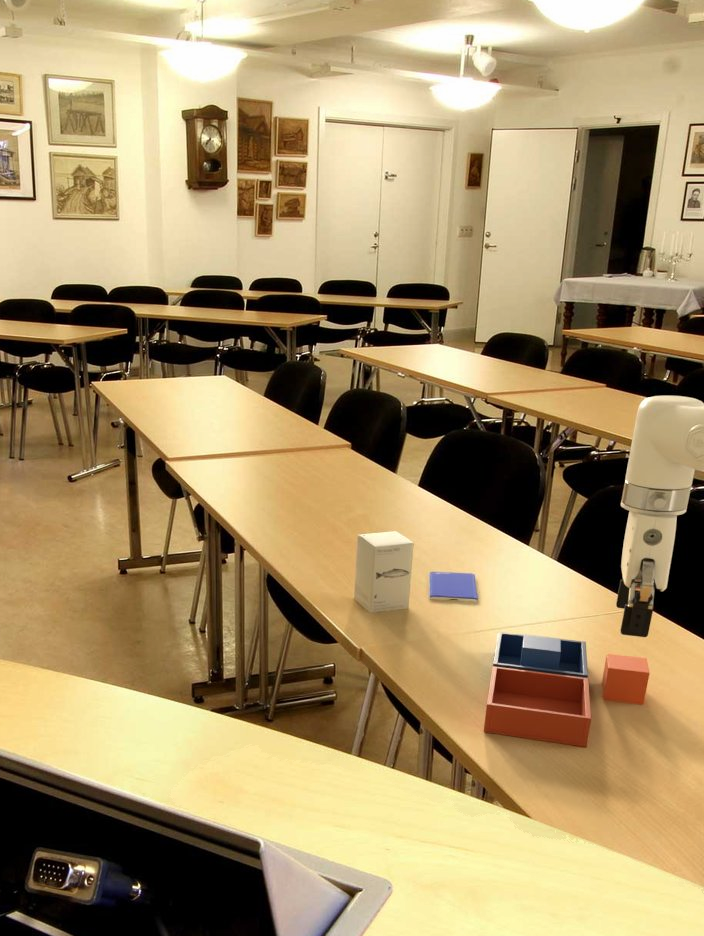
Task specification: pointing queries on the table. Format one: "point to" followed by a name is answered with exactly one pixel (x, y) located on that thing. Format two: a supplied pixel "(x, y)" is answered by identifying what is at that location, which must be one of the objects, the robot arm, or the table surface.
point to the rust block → (625, 679)
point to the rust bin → (538, 706)
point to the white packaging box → (383, 571)
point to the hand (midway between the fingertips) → (630, 621)
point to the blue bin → (569, 664)
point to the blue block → (540, 652)
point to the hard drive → (452, 586)
